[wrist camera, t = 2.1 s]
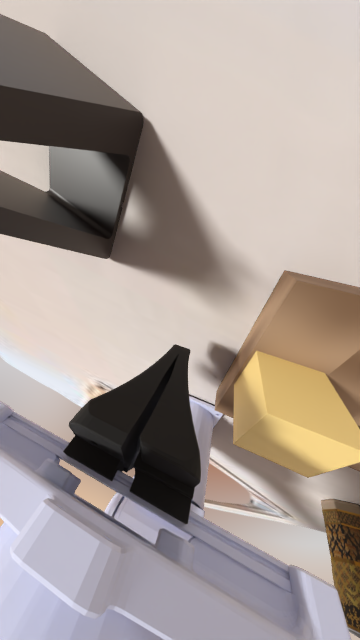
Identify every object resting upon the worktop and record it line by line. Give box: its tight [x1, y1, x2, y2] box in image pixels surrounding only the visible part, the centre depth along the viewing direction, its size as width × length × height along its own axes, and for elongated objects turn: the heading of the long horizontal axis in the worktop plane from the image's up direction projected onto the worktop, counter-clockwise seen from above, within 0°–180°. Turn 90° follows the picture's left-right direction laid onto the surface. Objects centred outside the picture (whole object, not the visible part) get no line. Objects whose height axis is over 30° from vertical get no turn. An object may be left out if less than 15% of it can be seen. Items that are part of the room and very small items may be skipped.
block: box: [233, 351, 360, 478], centre depth 10 cm, size 4×4×4 cm
